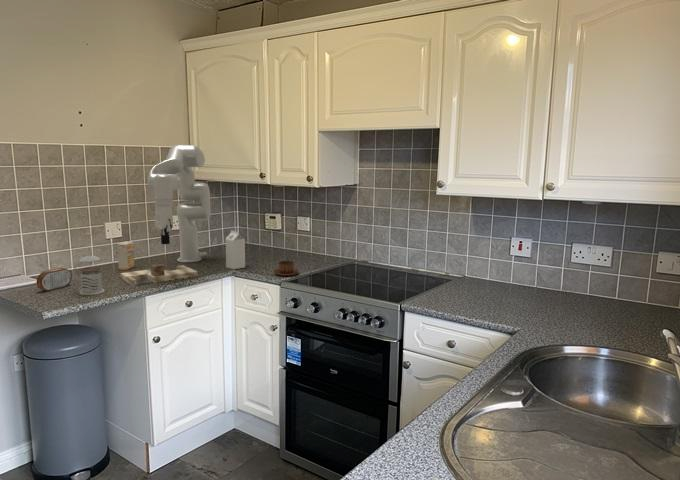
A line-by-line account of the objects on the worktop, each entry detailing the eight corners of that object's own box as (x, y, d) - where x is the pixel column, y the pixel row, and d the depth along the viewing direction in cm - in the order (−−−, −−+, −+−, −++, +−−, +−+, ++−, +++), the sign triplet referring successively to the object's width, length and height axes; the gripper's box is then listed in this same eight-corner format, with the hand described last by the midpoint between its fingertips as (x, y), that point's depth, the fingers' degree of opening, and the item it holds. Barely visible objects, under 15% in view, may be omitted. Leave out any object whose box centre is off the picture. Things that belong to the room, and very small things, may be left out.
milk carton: (237, 265, 264) (237, 229, 261) (245, 267, 259) (244, 231, 256) (225, 267, 259) (225, 231, 256) (233, 269, 254) (232, 232, 251)
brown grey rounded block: (68, 284, 221) (67, 265, 220) (73, 285, 220) (72, 266, 218) (36, 292, 207) (35, 272, 206) (42, 293, 206) (40, 273, 205)
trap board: (183, 270, 251) (182, 265, 251) (197, 276, 238) (197, 271, 238) (120, 278, 232) (120, 273, 232) (132, 286, 219) (132, 280, 219)
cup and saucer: (302, 275, 244) (302, 263, 243) (279, 278, 238) (279, 265, 237) (292, 271, 254) (292, 259, 253) (270, 273, 248) (270, 261, 247)
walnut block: (160, 273, 233) (160, 263, 232) (164, 275, 230) (164, 265, 229) (151, 274, 230) (150, 264, 230) (154, 276, 227) (154, 266, 226)
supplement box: (128, 270, 249) (126, 244, 247) (118, 270, 249) (117, 244, 247) (135, 266, 257) (133, 241, 255) (125, 266, 257) (124, 241, 255)
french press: (99, 294, 205) (95, 234, 201) (70, 295, 204) (65, 234, 200) (108, 288, 215) (105, 231, 210) (80, 288, 214) (76, 230, 210)
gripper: (149, 202, 224) (151, 242, 227) (161, 204, 213) (163, 247, 215) (166, 201, 229) (167, 241, 232) (178, 203, 217) (180, 245, 220)
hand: (165, 243), depth 223 cm, fingers closed
